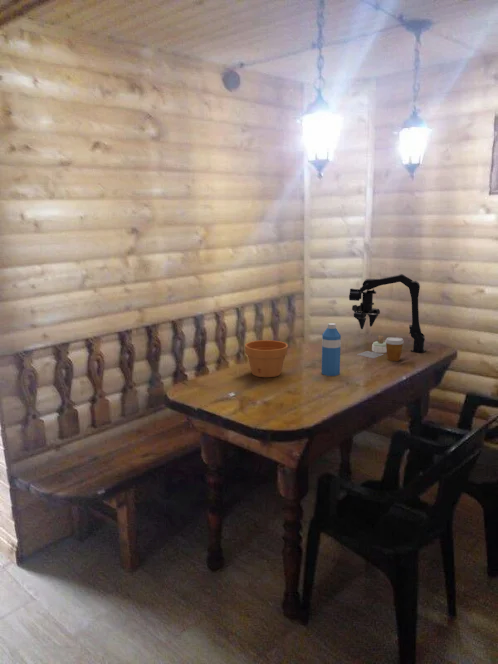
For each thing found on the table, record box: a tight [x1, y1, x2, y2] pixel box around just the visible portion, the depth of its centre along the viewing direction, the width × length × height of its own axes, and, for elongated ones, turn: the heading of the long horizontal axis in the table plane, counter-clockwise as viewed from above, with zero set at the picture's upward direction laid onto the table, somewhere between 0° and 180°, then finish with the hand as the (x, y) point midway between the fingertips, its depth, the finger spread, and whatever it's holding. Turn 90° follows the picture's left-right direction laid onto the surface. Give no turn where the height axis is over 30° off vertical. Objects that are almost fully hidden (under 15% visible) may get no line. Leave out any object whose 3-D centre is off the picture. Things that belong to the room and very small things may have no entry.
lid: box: [372, 335, 386, 347], centre depth 314 cm, size 8×8×5 cm
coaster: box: [356, 350, 385, 359], centre depth 308 cm, size 11×11×1 cm
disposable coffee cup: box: [384, 336, 404, 362], centre depth 297 cm, size 10×10×12 cm
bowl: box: [371, 343, 387, 354], centre depth 315 cm, size 9×9×4 cm
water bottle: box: [321, 322, 342, 377], centre depth 274 cm, size 9×9×25 cm
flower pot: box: [244, 339, 289, 378], centre depth 276 cm, size 21×21×15 cm
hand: (366, 327), depth 322 cm, fingers open, 9 cm apart
